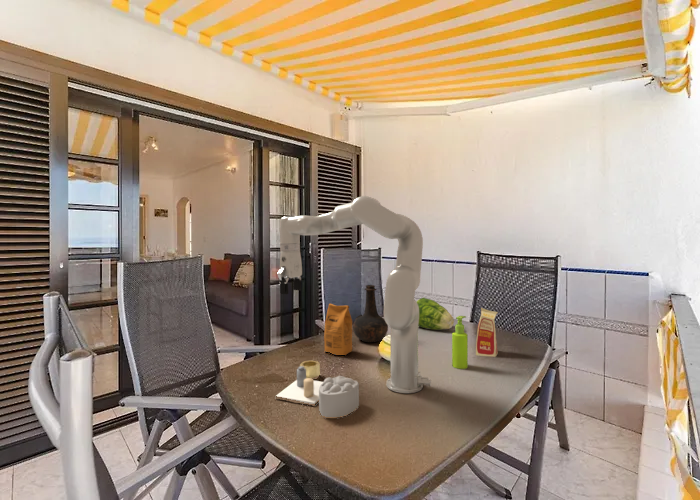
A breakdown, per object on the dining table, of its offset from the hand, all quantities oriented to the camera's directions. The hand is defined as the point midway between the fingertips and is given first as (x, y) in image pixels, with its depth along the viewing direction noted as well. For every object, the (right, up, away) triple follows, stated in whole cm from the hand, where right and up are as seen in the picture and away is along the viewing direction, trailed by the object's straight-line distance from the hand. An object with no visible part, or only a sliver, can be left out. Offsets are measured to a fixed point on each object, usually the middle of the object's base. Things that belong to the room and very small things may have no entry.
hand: (290, 291), depth 137 cm
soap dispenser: (+68, -30, +3) cm, 74 cm away
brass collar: (+8, -31, -6) cm, 33 cm away
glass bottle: (+34, -29, +40) cm, 60 cm away
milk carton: (+84, -30, +18) cm, 91 cm away
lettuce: (+70, -28, +59) cm, 96 cm away
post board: (+8, -32, -19) cm, 38 cm away
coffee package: (+18, -30, +21) cm, 41 cm away
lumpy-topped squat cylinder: (+19, -32, -30) cm, 48 cm away
